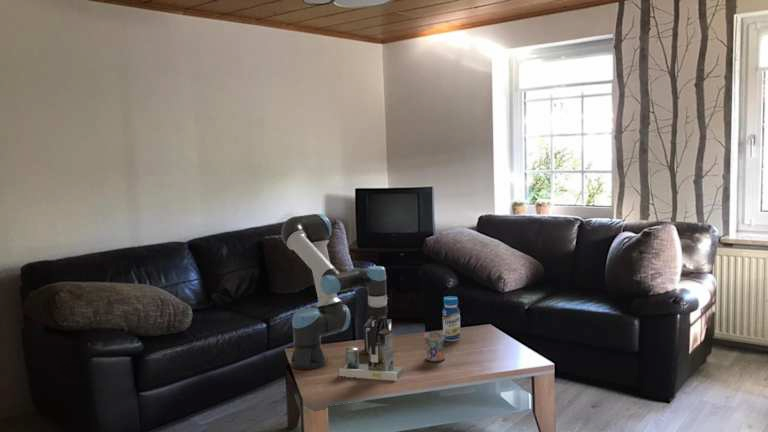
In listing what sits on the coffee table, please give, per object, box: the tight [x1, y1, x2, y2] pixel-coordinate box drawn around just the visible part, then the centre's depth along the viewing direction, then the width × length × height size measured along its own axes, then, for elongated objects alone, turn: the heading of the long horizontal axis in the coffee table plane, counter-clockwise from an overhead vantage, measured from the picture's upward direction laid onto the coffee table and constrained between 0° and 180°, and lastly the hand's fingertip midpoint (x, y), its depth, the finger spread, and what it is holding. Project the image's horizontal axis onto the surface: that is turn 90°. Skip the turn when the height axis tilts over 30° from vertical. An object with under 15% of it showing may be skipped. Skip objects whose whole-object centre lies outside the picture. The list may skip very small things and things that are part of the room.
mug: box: [423, 331, 446, 362], centre depth 264 cm, size 12×9×11 cm
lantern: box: [363, 303, 393, 356], centre depth 277 cm, size 11×11×28 cm
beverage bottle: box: [441, 295, 462, 342], centre depth 290 cm, size 8×8×20 cm
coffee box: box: [367, 329, 395, 372], centre depth 248 cm, size 9×6×16 cm
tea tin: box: [345, 346, 360, 369], centre depth 252 cm, size 5×5×8 cm
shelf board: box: [338, 363, 404, 382], centre depth 249 cm, size 24×10×3 cm, turn 72°
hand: (379, 356), depth 248 cm, fingers open, 13 cm apart
